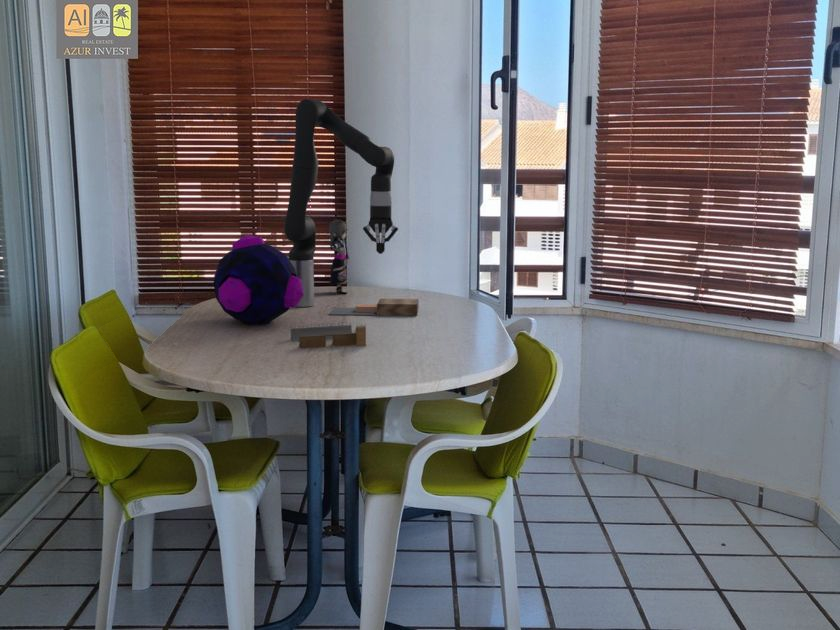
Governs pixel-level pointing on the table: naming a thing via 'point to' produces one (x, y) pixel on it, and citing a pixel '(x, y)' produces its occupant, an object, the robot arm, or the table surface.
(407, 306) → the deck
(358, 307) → the salmon pink rectangular block
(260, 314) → the sculpture
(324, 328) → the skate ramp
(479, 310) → the table surface
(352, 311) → the mat
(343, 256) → the figurine
